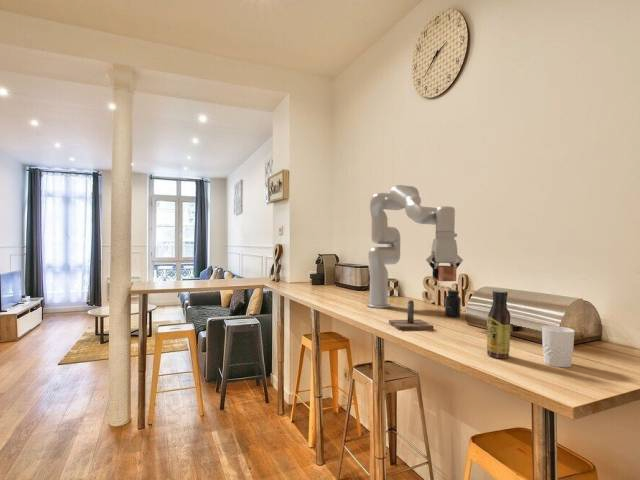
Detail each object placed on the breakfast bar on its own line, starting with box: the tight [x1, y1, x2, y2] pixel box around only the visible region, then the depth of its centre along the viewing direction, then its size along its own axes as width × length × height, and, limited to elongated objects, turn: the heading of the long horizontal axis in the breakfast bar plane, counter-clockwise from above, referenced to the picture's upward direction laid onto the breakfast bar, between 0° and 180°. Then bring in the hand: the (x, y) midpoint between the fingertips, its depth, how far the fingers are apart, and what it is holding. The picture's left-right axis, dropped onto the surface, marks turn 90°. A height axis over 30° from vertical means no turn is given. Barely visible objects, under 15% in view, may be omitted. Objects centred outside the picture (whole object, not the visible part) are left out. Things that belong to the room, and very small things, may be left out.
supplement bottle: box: [444, 289, 462, 318], centre depth 172 cm, size 7×7×12 cm
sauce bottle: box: [486, 289, 511, 359], centre depth 111 cm, size 7×6×20 cm
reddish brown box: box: [431, 265, 457, 282], centre depth 154 cm, size 7×7×6 cm
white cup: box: [541, 325, 576, 368], centre depth 105 cm, size 8×8×10 cm
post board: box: [388, 299, 434, 332], centre depth 149 cm, size 12×14×11 cm
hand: (444, 277), depth 154 cm, fingers closed on reddish brown box, 7 cm apart
